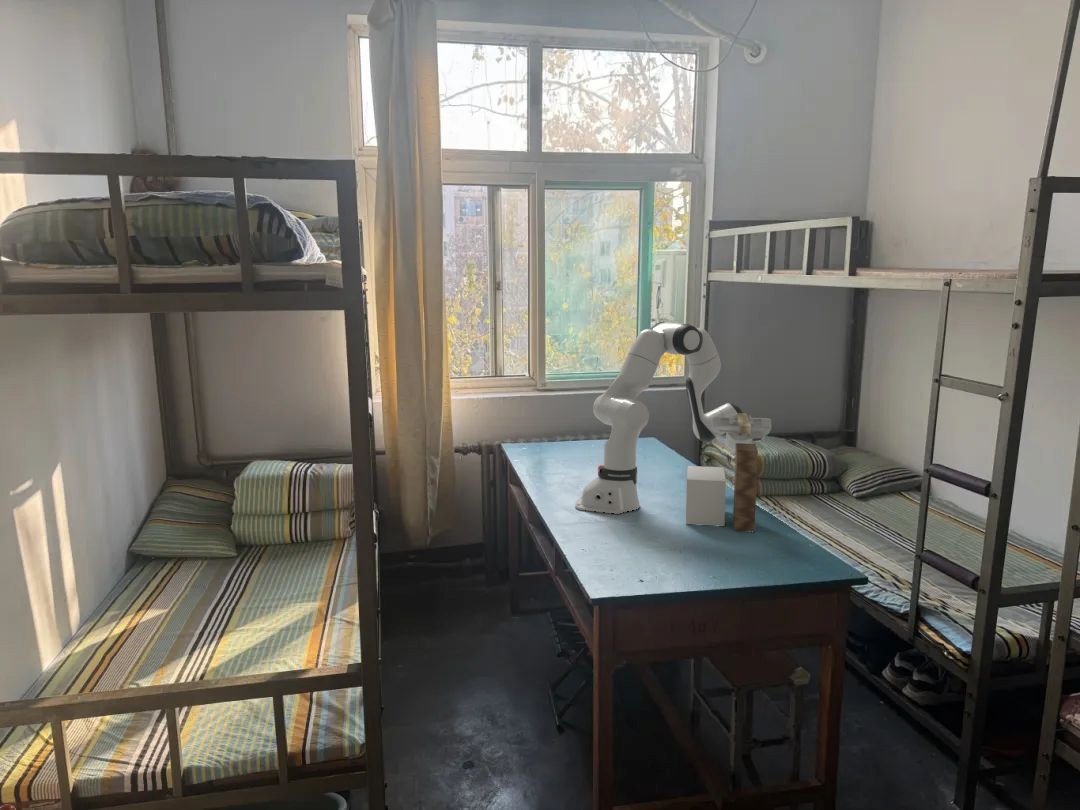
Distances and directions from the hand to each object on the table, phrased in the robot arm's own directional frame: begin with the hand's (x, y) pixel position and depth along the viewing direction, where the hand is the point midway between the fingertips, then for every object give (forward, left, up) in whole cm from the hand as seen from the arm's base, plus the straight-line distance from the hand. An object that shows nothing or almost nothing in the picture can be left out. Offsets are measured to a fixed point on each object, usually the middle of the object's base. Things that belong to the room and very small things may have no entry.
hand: (742, 417), depth 246 cm
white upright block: (-12, -13, -32) cm, 36 cm away
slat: (0, -8, -2) cm, 8 cm away
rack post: (0, -21, -32) cm, 38 cm away
